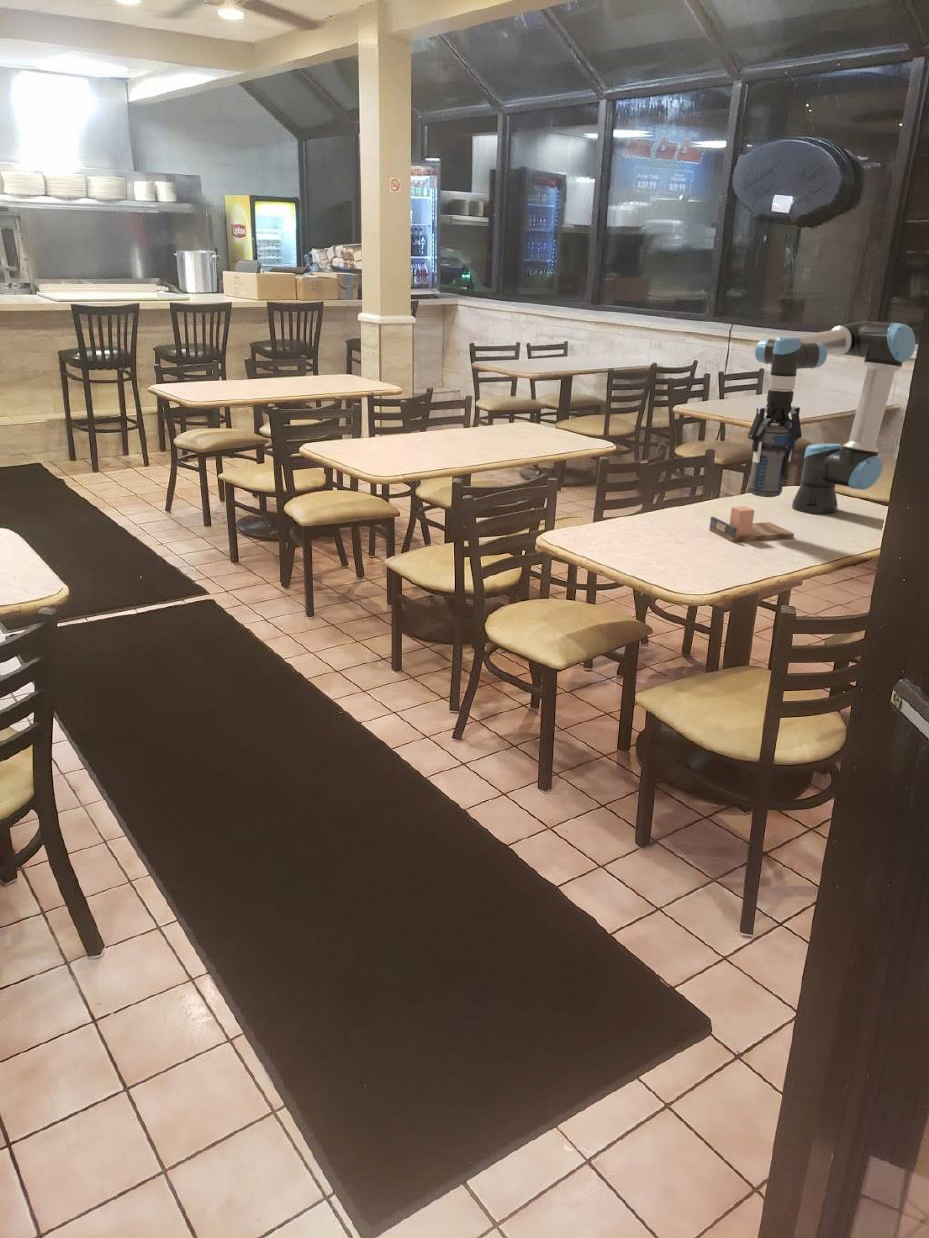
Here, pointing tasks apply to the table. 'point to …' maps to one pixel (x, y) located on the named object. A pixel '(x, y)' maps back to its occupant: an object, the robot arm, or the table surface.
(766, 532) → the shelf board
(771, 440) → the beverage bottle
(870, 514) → the table surface
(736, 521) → the carton block
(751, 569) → the table surface
